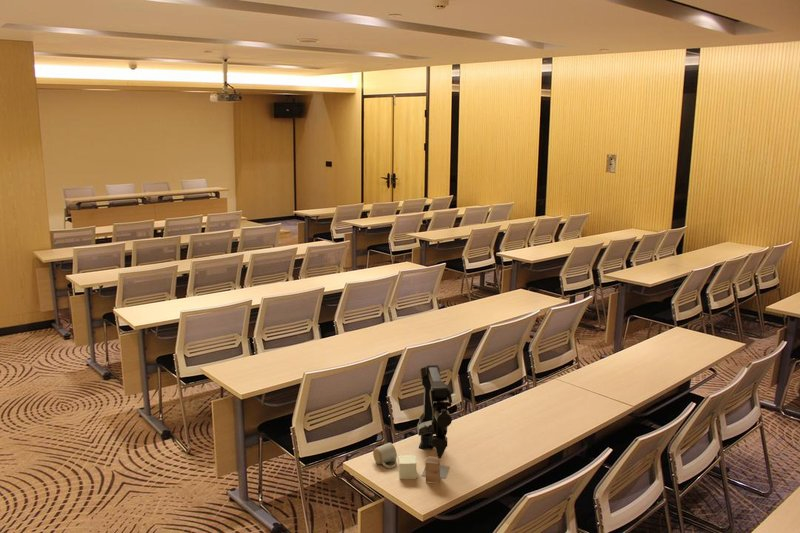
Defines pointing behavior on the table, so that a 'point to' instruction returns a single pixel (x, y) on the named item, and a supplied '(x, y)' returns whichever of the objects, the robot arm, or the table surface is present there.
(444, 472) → the felt pad
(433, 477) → the walnut block
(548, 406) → the table surface
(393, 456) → the ceramic mug
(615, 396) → the table surface
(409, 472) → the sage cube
